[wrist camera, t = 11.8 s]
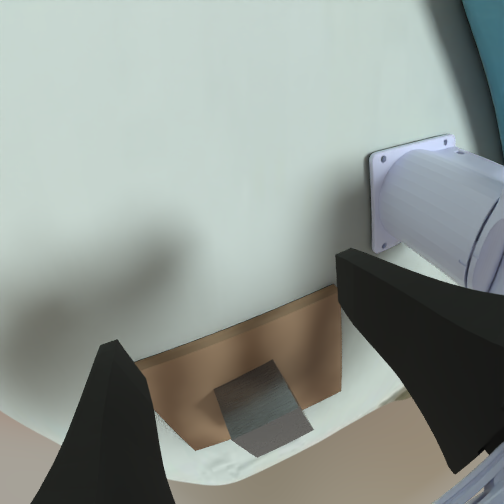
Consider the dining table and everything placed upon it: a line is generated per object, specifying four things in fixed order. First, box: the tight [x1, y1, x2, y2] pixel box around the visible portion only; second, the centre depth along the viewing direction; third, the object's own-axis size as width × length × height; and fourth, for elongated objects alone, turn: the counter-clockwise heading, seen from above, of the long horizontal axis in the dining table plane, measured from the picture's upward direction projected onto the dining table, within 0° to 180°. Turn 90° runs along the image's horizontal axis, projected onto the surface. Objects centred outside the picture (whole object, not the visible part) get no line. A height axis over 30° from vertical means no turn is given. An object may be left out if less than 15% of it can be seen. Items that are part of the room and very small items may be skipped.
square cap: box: [214, 359, 314, 457], centre depth 24 cm, size 5×5×5 cm
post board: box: [134, 284, 342, 451], centre depth 25 cm, size 17×15×4 cm
